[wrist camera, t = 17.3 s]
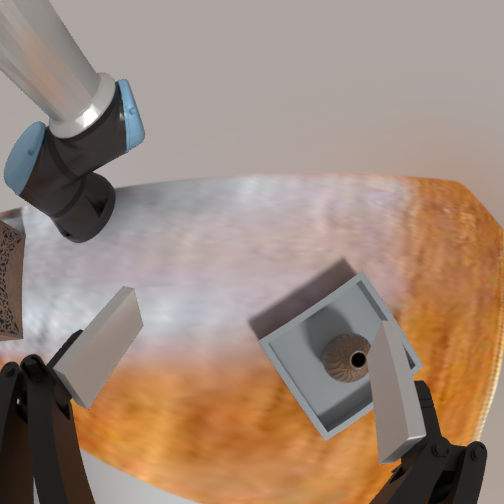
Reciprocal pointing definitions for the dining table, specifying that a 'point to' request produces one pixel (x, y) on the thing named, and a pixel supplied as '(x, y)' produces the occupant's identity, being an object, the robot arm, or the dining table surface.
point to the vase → (346, 357)
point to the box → (312, 347)
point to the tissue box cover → (11, 282)
